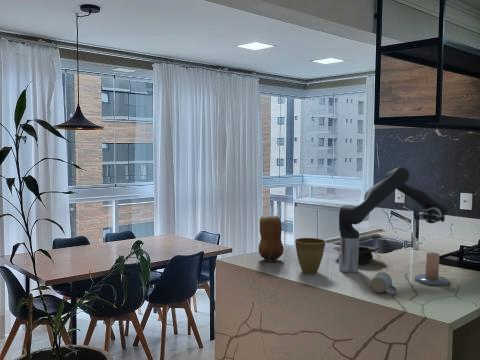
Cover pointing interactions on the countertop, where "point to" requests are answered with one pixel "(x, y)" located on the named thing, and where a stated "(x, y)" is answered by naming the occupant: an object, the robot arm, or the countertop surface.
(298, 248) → the plant pot
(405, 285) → the countertop surface
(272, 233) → the butternut squash
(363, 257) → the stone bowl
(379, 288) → the ceramic mug
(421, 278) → the slate dish
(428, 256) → the canister
